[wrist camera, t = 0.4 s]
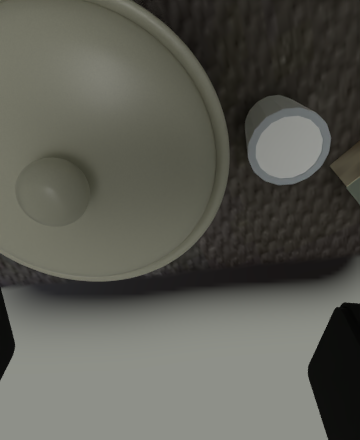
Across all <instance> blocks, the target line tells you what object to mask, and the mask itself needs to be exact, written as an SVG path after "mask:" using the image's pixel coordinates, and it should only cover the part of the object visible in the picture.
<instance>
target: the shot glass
mask: <svg viewBox="0 0 360 440" xmlns="http://www.w3.org/2000/svg"><path fill="white" fill-rule="evenodd" d="M245 135H246V144H247V153H248V160H249V162H250V164H251V166H252V169H253V171H254V172H255V173H256V174H257V175H258V176H259V177H261V178H262V179H263V180H264V181H267V182H270V183H273V184H277V185H285V184H295V183H297V182H299V181H302V180H304V179H306V178H309V177H310V176H311V175H312V174H313V173H314V172H315V171H317V170H318V169H319V168H320V167H321V166H322V164H323V162H324V160H325V159H326V157H327V155H328V153H329V148H330V141H331V136H330V133H329V129H328V126H327V123H326V122H325V121H324V120H323V119H322V118H321V117H320V116H319V115H318V114H317V113H316V112H314V111H312V110H310V109H309V108H307V107H305V106H303V105H301V104H299V103H298V102H296V101H294V100H292V99H290V98H287V97H284V96H281V95H274V96H267V97H265V98H263V99H261V100H260V101H258V102H257V103H256V104H255V105H254V106H253V107H252V108H251V109H250V110H249V112H248V115H247V117H246V120H245Z"/></svg>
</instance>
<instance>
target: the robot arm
mask: <svg viewBox="0 0 360 440" xmlns="http://www.w3.org/2000/svg"><path fill="white" fill-rule="evenodd" d="M14 349H15V342H14V338H13V334H12V330H11V326H10V322H9V319H8V314H7V311H6V307H5V303H4V299H3V295H2V291H1V287H0V380H1V378H2V376H3V374H4V372H5V370H6V368H7V366H8V364H9V362H10V360H11V358H12V356H13V353H14ZM308 377H309V381H310V384H311V387H312V390H313V393H314V396H315V399H316V402H317V406H318V409H319V412H320V415H321V418H322V421H323V424H324V428H325V430H326V434H327V437H328V440H360V304H357V303H343V304H342V305H341V306H340V307H337V308H335V310H334V312H333V314H332V316H331V318H330V320H329V322H328V325H327V327H326V329H325V331H324V333H323V335H322V338H321V340H320V342H319V344H318V346H317V349H316V351H315V353H314V355H313V357H312V359H311V361H310V364H309V366H308Z"/></svg>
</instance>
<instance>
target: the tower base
mask: <svg viewBox="0 0 360 440" xmlns="http://www.w3.org/2000/svg"><path fill="white" fill-rule="evenodd" d="M330 167H331V168H332V170H333V171H334V172H335V173H336V174H337V176H338V177H339V178H340V179H341V180H342V182H343V183H344V184H345V185H346V186H349V185H350V184H351V183H353V182H354V181H355V180H356V179H358V178H359V177H360V141H359V142H357V143H356V144H355V145H354V146H353V147H351V148H350V149H349V150H348V151H347V152H345V153H344V154H343V155H342V156H341V157H339V158H338V159H337V160H336V161H335V162H333V163H332V164H331V165H330Z"/></svg>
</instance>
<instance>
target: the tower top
mask: <svg viewBox="0 0 360 440" xmlns="http://www.w3.org/2000/svg"><path fill="white" fill-rule="evenodd" d="M346 188H347V190H348V191H349V192H350V193H351V195H352V196H353V197H354V198H355V199H356V201H357V202H358V203H359V204H360V177H359V178H358V179H356V180H355V181H354V182H353V183H351V184H350V185H349V186H347V187H346Z"/></svg>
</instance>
